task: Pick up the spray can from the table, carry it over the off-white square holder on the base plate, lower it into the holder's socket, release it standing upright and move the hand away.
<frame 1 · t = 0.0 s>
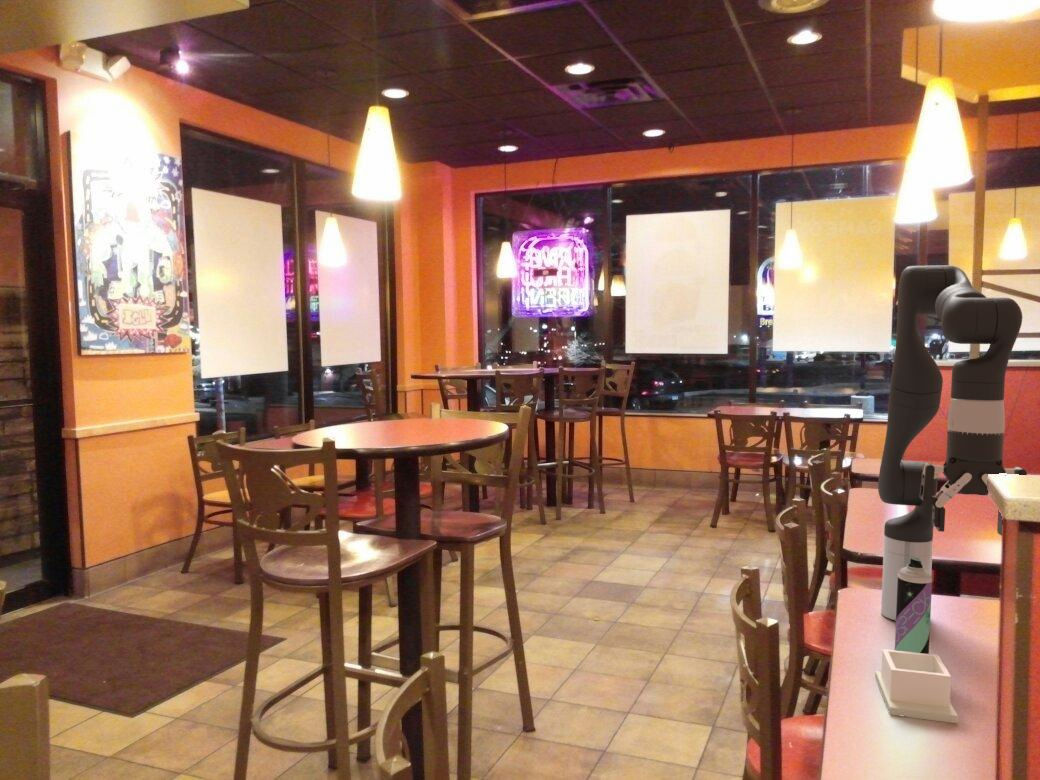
hand: (970, 532, 121), 29 cm above the table, tool pointing down, fingers open, 8 cm apart
spray can: (910, 669, 140), on the table
can holder: (913, 698, 128), on the table
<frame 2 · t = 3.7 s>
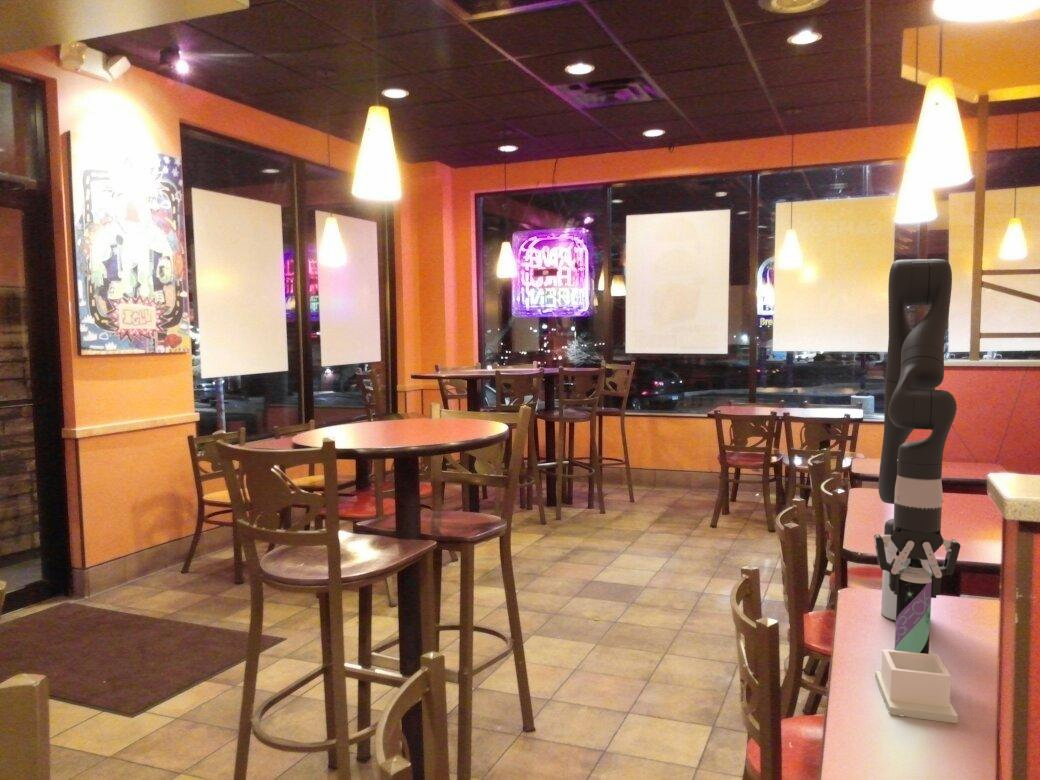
hand: (913, 594, 139), 13 cm above the table, tool pointing down, fingers closed on spray can, 5 cm apart
spray can: (910, 669, 140), on the table, touching gripper
when the fingers open (16 cm above the table, at t = 10.1 s): spray can drops 1 cm, resting on can holder.
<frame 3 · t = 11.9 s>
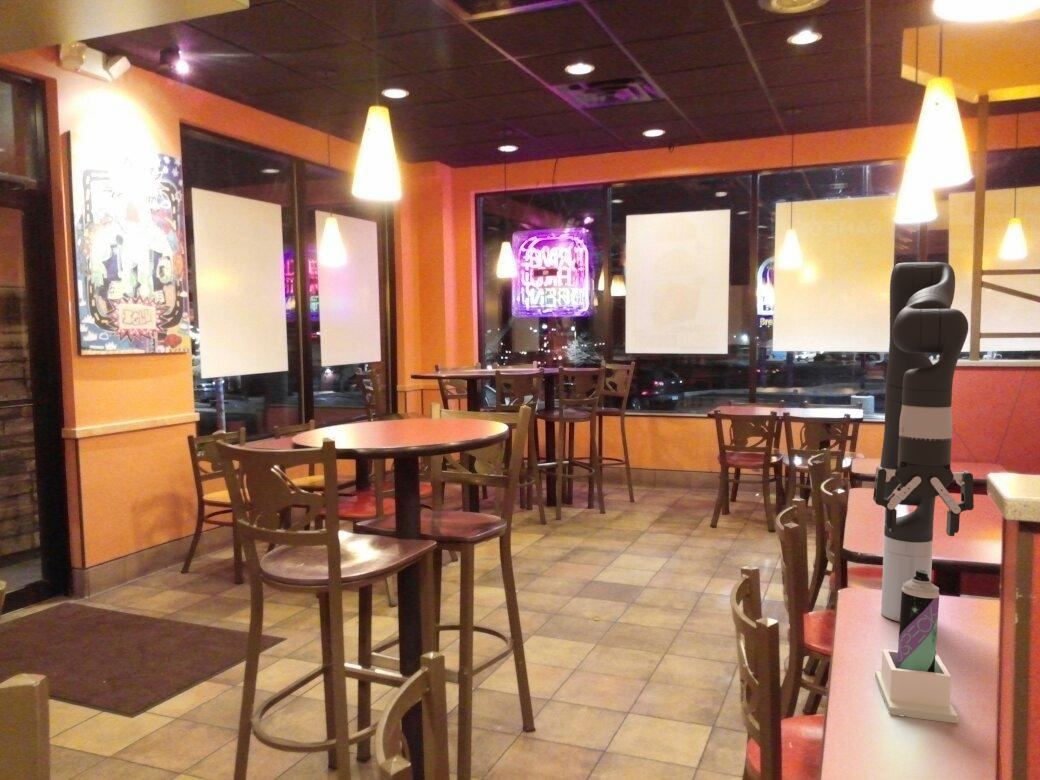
hand: (920, 533, 126), 28 cm above the table, tool pointing down, fingers open, 8 cm apart
spray can: (913, 692, 128), point 1 cm above the table, touching can holder
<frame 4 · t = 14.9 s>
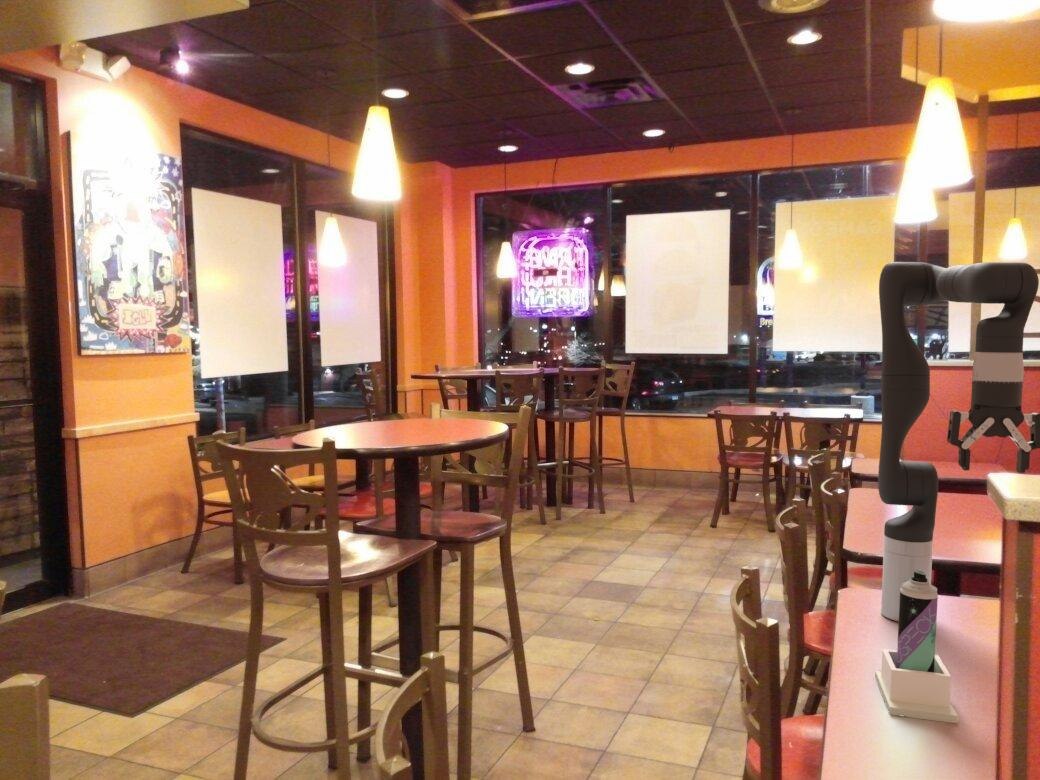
hand: (992, 471, 136), 36 cm above the table, tool pointing down, fingers open, 8 cm apart
nothing on the table moved.
at the end: spray can 0.1 cm off-centre on the can holder, point 1.0 cm above the can holder's base; spray can tilted 1°; the gripper is holding nothing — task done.
